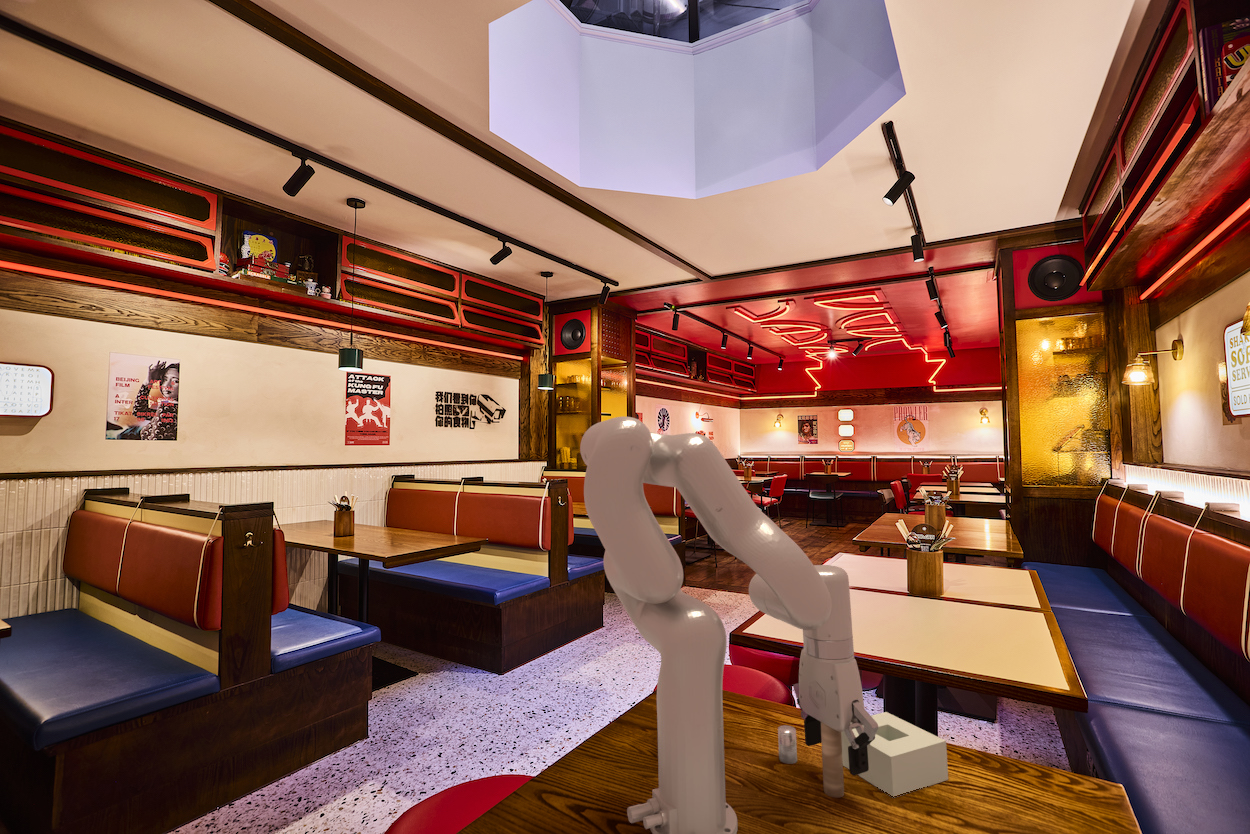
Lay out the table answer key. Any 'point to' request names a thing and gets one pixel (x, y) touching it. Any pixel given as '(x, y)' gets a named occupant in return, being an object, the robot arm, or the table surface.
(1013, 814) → the table surface
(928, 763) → the hole block
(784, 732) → the steel stub
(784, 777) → the table surface
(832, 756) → the birch pin
